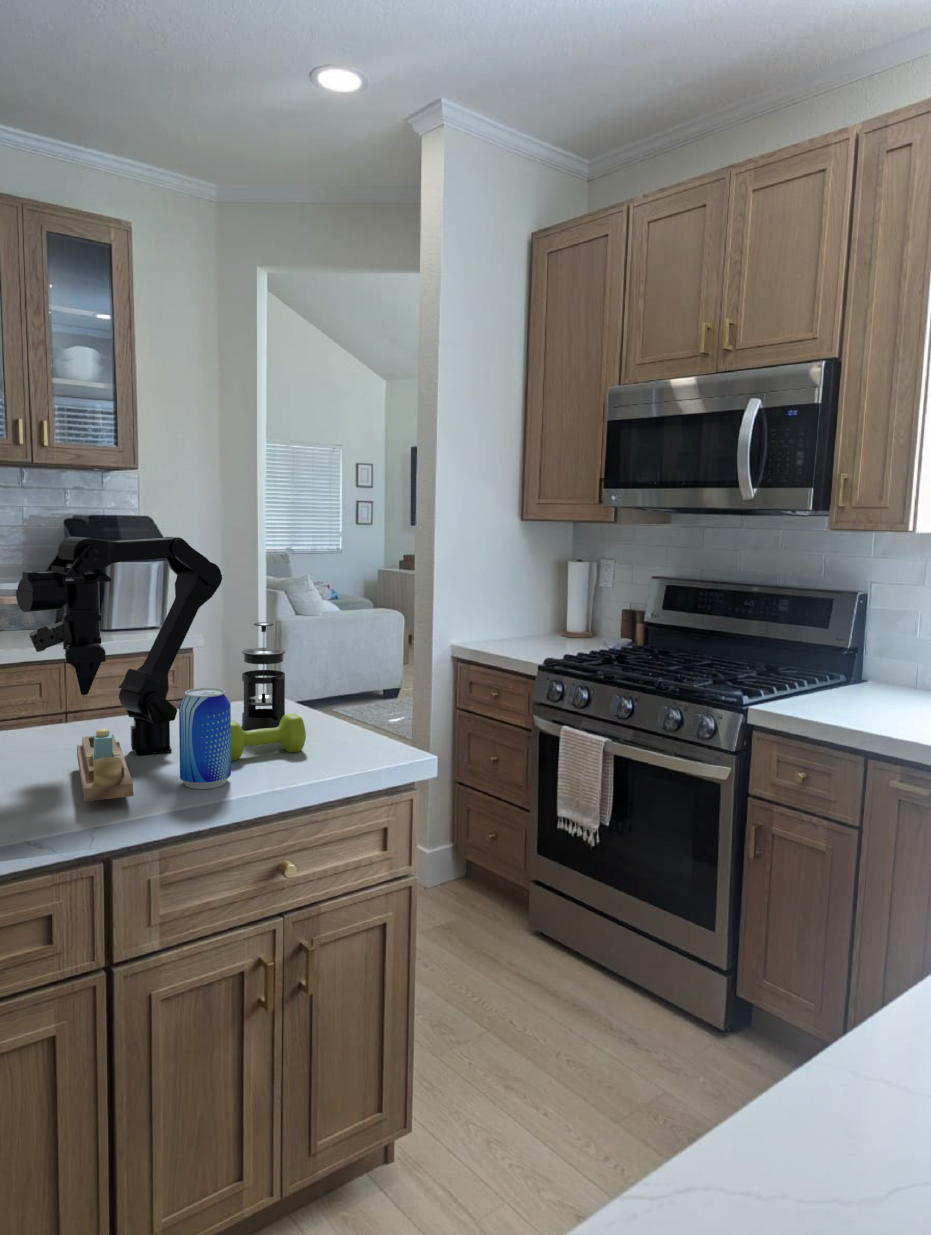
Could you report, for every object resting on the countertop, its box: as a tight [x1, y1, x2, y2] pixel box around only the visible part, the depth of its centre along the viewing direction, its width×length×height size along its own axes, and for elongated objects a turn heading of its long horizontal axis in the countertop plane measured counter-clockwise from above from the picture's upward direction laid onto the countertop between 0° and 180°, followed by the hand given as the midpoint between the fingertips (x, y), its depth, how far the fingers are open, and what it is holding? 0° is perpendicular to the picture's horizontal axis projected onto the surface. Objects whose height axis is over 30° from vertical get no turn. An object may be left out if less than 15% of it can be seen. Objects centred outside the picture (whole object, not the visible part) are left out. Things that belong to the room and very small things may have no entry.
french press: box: [240, 621, 286, 731], centre depth 186 cm, size 12×9×23 cm
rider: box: [93, 728, 113, 760], centre depth 145 cm, size 3×4×6 cm, turn 26°
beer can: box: [178, 687, 232, 790], centre depth 149 cm, size 8×8×16 cm
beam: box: [76, 733, 134, 802], centre depth 146 cm, size 7×26×8 cm, turn 26°
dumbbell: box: [231, 713, 307, 762], centre depth 168 cm, size 16×8×7 cm, turn 122°
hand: (84, 694), depth 156 cm, fingers closed
